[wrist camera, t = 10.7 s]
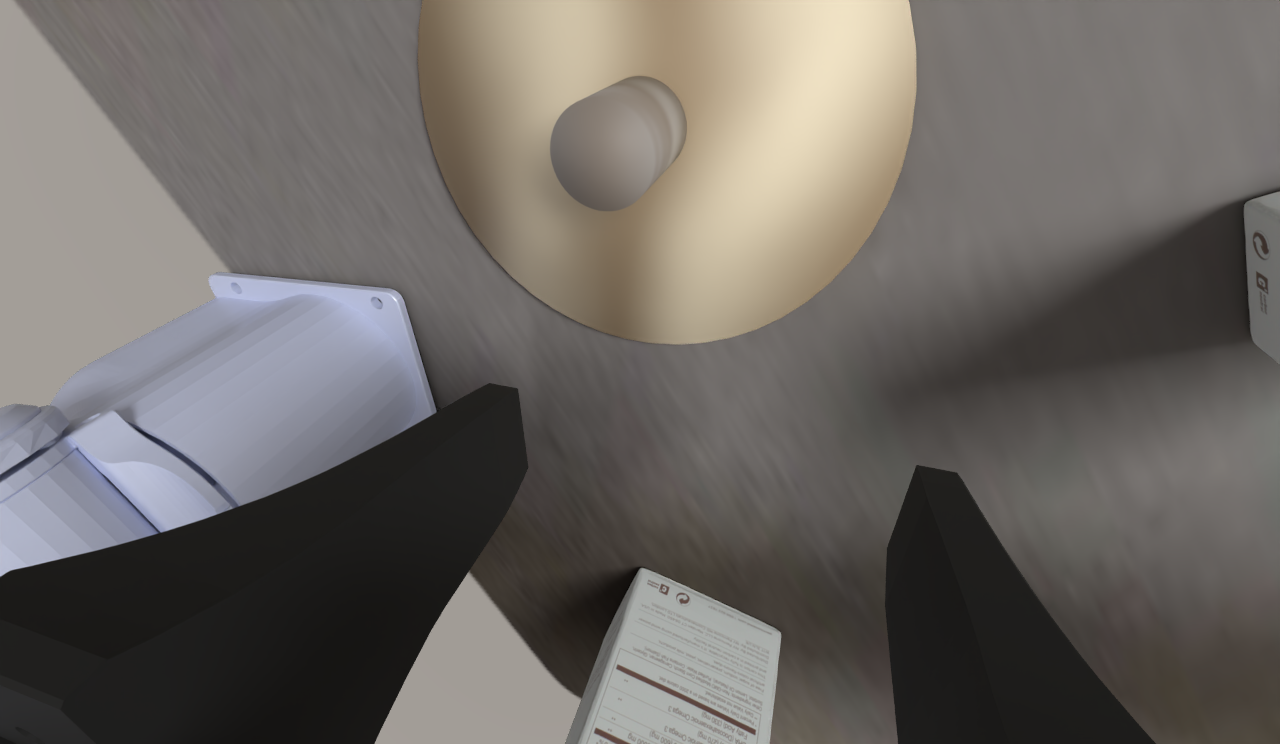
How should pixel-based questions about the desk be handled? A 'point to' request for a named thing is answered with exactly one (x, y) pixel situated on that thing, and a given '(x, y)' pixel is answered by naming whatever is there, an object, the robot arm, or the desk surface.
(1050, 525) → the desk surface
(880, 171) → the post base
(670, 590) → the supplement box
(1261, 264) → the skincare box
